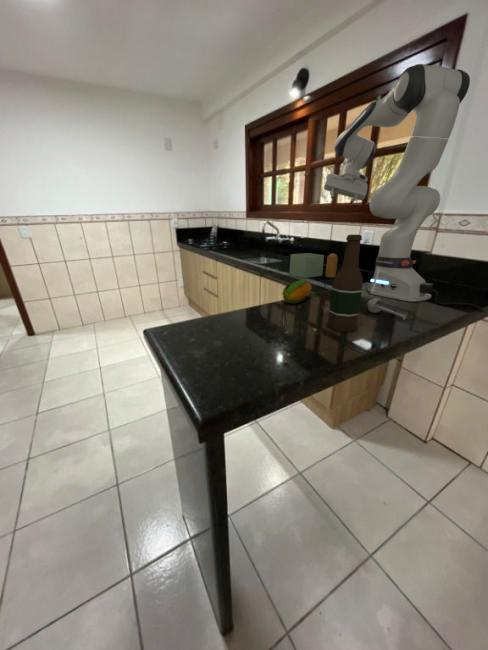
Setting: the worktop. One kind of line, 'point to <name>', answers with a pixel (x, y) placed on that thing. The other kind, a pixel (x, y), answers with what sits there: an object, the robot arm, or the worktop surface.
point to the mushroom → (381, 307)
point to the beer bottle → (347, 289)
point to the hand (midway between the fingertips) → (342, 200)
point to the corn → (296, 291)
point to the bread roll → (331, 265)
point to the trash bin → (306, 265)
